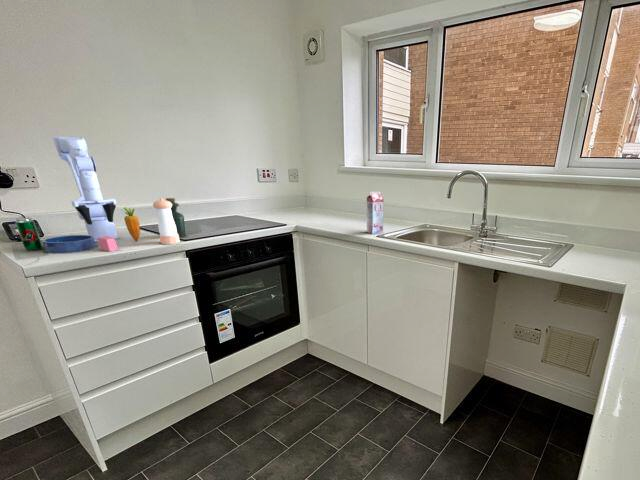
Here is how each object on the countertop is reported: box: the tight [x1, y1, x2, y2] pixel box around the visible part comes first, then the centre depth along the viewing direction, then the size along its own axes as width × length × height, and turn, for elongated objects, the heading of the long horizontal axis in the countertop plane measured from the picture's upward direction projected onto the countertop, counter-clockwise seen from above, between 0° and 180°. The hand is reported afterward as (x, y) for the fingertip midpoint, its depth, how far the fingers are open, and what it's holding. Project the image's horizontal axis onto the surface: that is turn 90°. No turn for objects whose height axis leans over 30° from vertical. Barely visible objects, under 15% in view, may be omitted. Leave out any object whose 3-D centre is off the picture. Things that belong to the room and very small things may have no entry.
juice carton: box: [366, 191, 384, 235], centre depth 193 cm, size 7×7×22 cm
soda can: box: [15, 217, 44, 252], centre depth 136 cm, size 5×5×12 cm
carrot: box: [123, 206, 141, 242], centre depth 155 cm, size 5×5×15 cm
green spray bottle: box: [165, 197, 187, 239], centre depth 166 cm, size 8×8×18 cm
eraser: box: [97, 236, 119, 252], centre depth 141 cm, size 3×6×5 cm, turn 66°
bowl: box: [41, 234, 97, 254], centre depth 141 cm, size 15×15×4 cm
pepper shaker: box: [152, 197, 181, 245], centre depth 154 cm, size 7×7×19 cm
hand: (100, 223), depth 145 cm, fingers open, 7 cm apart
